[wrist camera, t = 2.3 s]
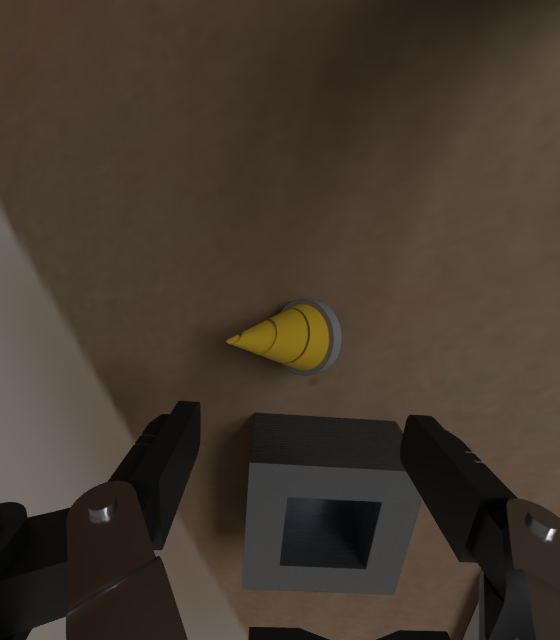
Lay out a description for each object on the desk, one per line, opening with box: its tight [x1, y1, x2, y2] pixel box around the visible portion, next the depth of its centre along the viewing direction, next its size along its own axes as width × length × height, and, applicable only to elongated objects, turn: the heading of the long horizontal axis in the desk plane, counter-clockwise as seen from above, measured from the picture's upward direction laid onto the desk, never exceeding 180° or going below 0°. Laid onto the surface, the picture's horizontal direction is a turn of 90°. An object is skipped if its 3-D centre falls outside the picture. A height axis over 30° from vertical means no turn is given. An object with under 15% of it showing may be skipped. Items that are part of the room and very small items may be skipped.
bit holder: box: [242, 413, 422, 595], centre depth 23 cm, size 12×12×6 cm
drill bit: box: [227, 299, 342, 376], centre depth 18 cm, size 5×5×10 cm
